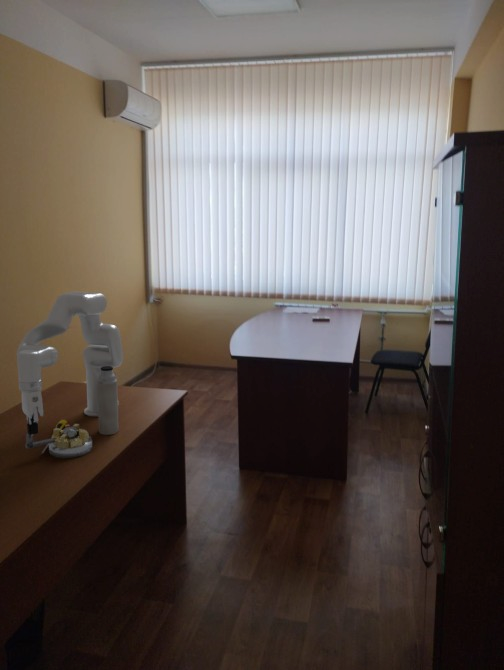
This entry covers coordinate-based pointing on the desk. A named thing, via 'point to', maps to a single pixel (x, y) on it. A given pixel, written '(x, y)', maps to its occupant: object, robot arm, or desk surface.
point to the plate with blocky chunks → (69, 451)
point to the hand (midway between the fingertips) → (32, 433)
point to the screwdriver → (59, 425)
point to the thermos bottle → (107, 401)
